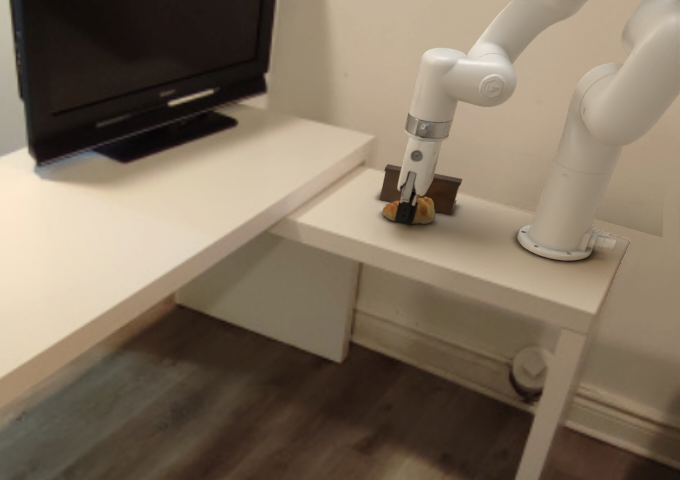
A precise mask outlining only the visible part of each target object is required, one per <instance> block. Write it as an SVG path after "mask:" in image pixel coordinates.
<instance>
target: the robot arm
mask: <svg viewBox="0 0 680 480" xmlns="http://www.w3.org/2000/svg"><path fill="white" fill-rule="evenodd" d="M587 2H588V0H511V1H510V2H508V4H506V6H505V7H504V8H503V9H501V11H500V12H499V13H498V14H497V15H495V17H494V18H493V20H492V21H491V22H490V23H489V25H488V26H487V27H486V29H485V30H484V31H483V32H482V33H481V35H480V36H479V37H478V38H477V40H476V42H475V43H474V44H473V45H472V47H471V48H470V49H469V51H468V52H467V55H466V53H464V52H462V50H461V51H460V50H458V49H455V48H448V47H434V48H430V49H428V50H426V51H425V52H424V53H423V54H422V56H421V59H420V61H419V66H418V70H417V74H416V80H415V83H414V87H413V92H412V96H411V100H410V104H409V108H408V113H407V117H406V121H405V126H404V129H403V132H404V134H405V135H406V136H408V140H407V145H406V148H405V152H404V156H403V160H402V164H401V167H402V168H401V172H400V177H399V181H398V187H397V189H398V190H399V191H401V190H402V194H401V199H400V201H399V204H398V208H397V213H396V217H395V221H394V222H396V223H400V224H403V225H409V226H411V225H412V224H413V223H412V222H413V221H414V217H415V213H416V210H417V206H418V202H416V201H418V199H419V195H420V196H423V195H425V193H426V192H427V190H428V188H429V186H430V185H431V183H432V181H433V178H434V174H436V169H437V164H438V161H439V156H440V152H441V148H442V143H443V141H446V140H447V139H449V137H450V132H451V130H452V125H453V121H454V118H455V114H456V110H457V106H458V103H459V102H462V103H467V104H469V105H472V106H478V107H483V108H492V107H497V106H501V105H502V104H504V103H505V102H507V101H508V100H509V99H510V98H511V97H512V96H513V94H514V93H515V91H516V87H517V73H516V71H515V68H514V66H513V65H514V63H515V62H516V60H517V59H518V58H519V57H520V55H521V54H523V52H524V51H525V50H526V49H527V48H528V46H529V45H530V44H531V43H532V42H533V41H534V40H535V39H536V38H537V37H538V36H539V35H540V34H541V33H542V32H544V31H546V29H548V28H549V27H551V26H553V25H555V24H557V23H559V22H562V21H565V20H567V19H569V18H571V17H573V16H574V15H576V14H577V13H578V12H579V11H581V9H583V7H584V6H585V4H586V3H587ZM621 45H622V48H623V49H624V51H625V53H626V55H627V58H626V59H625V60H624V62H623V63H620V62H605V63H602V64H599V65H597V66H594V67H593V68H591V69H590V70H588V71H587V72H585V74H584V75H583V76H582V77H581V78H580V80H578V83H577V84H576V85H575V87H574V90H573V92H572V95H571V97H570V101H569V104H568V110H567V114H566V118H565V122H564V126H563V130H562V134H561V137H560V140H559V143H558V146H557V149H556V153H555V155H554V157H553V160H552V162H551V166H550V169H549V171H548V174H547V177H546V180H545V183H544V186H543V189H542V191H541V195H540V197H539V199H538V203H537V205H536V208H535V211H534V215H533V217H532V220H531V223H530V224H526V225H524V226H523V227H521V228H520V229H519V231H518V233H517V241H518V243H519V244H520V245H521V246H522V247H523V248H525V250H527V251H529V252H531V253H532V254H535V255H537V256H540V257H543V258H547V259H552V260H557V261H578V260H584V259H585V258H588V257H589V256H590V255H591V254H592V251H593V249H594V247H595V248H601V249H604V250H608V251H614V249H615V247H616V244H617V239H614V238H610V233H605V232H600V231H596V229H595V228H594V224H595V222H594V221H595V219H596V217H597V214H598V211H599V209H600V206H601V204H602V201H603V198H604V196H605V193H606V191H607V188H608V186H609V183H610V181H611V180H612V176H613V174H614V171H615V169H616V167H617V164H618V162H619V159H620V157H621V154H622V150H623V148H624V146H628V145H630V144H633V143H634V142H636V141H638V140H640V139H641V138H643V137H644V136H646V134H648V133H649V132H650V131H651V130H652V129H653V128H654V127H655V125H656V124H658V122H659V121H660V119H662V117H663V116H664V114H665V113H666V112H667V111H668V109H669V108H670V107H671V106H672V104H673V103H674V102H675V100H676V99H677V98H678V97H679V96H680V0H641V1H640V3H639V4H638V5H637V7H636V8H635V10H634V11H633V12H632V13H631V15H630V16H629V18H628V19H627V21H626V23H625V25H624V26H623V29H622V32H621Z"/></svg>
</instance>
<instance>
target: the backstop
mask: <svg viewBox="0 0 680 480" xmlns="http://www.w3.org/2000/svg"><path fill="white" fill-rule="evenodd" d="M401 168H402V166H399V165H394V164H390V163H387V164H386V166H385V167H384V177H383V182H382V186H381V191H380V196H379V200H381V201H386V202H389V203H392V202H394V201H399V200H400V199H401V194H402V190H401V191H399V190H398V189H397V187H398V181H399V177H400V172H401ZM462 182H463V178H459V177H454V176H450V175H445V174H441V173H440V174H439V173H435V174H434V178H433V181H432V183H431V185H430V186H429V188H428V190H427V192H426V193H425V195H423V196H420V195H419V198H424V197H428V198H431V199H432V201H433V203H434V210H435V213H442V214H445V215H452V213H453V211H454V209H455V207H456V204H457V196H458V193H459V189H460V187H461V185H462Z"/></svg>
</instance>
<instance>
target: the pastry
mask: <svg viewBox="0 0 680 480" xmlns="http://www.w3.org/2000/svg"><path fill="white" fill-rule="evenodd" d="M399 201H400V200H399ZM399 201H394V202H389V203H386V204H385V206H384V207H383V209H382V215H383V216H384V217H386V218H387V219H389V220H390V221H392V222H396V221H395V217H396V213H397V208H398V204H399ZM416 202H418V206H417V210H416V213H415V217H414V221H413V222H412V224H422V225H426V224H430V223H432V222H433V221H434V220H435V217H436V211H435V210H434V203H433V201H432V199H431V198H428V197H424V198H419V199H418V201H416Z"/></svg>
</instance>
